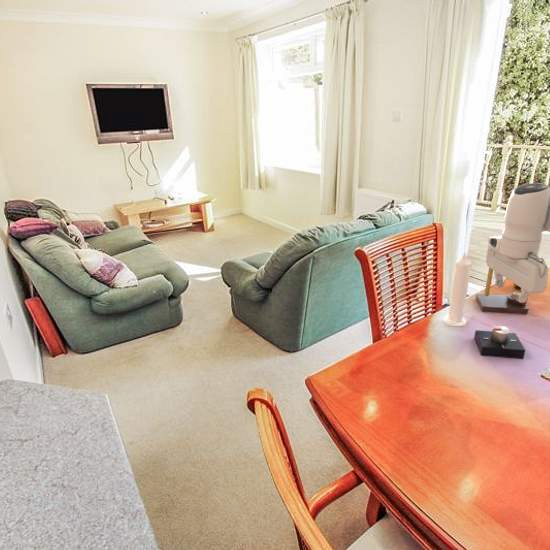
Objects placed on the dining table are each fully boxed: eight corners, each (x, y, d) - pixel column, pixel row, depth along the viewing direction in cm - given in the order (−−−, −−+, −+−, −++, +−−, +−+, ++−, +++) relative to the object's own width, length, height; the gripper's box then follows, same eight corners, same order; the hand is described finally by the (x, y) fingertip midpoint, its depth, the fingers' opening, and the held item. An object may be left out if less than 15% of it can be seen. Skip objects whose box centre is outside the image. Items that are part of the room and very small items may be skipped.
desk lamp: (497, 292, 135) (508, 236, 126) (502, 300, 129) (514, 243, 121) (478, 291, 137) (487, 236, 128) (482, 299, 131) (492, 242, 122)
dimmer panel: (513, 341, 114) (515, 332, 113) (523, 359, 106) (525, 349, 105) (474, 338, 117) (475, 329, 116) (480, 355, 109) (482, 346, 108)
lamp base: (520, 301, 136) (522, 291, 134) (529, 314, 127) (532, 304, 126) (475, 298, 140) (477, 289, 138) (481, 312, 131) (483, 301, 129)
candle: (455, 329, 122) (466, 258, 112) (438, 319, 128) (447, 251, 118) (471, 323, 125) (483, 253, 115) (454, 314, 131) (463, 247, 121)
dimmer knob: (503, 335, 112) (505, 324, 111) (510, 343, 108) (513, 332, 107) (488, 335, 113) (490, 324, 111) (495, 343, 109) (497, 332, 107)
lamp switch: (520, 296, 132) (521, 291, 131) (523, 300, 129) (524, 295, 128) (511, 295, 133) (512, 291, 132) (513, 299, 130) (514, 295, 129)
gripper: (560, 260, 89) (547, 310, 95) (506, 234, 108) (498, 277, 113) (534, 262, 89) (523, 312, 95) (485, 236, 108) (478, 279, 113)
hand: (509, 293), depth 104 cm, fingers open, 8 cm apart
